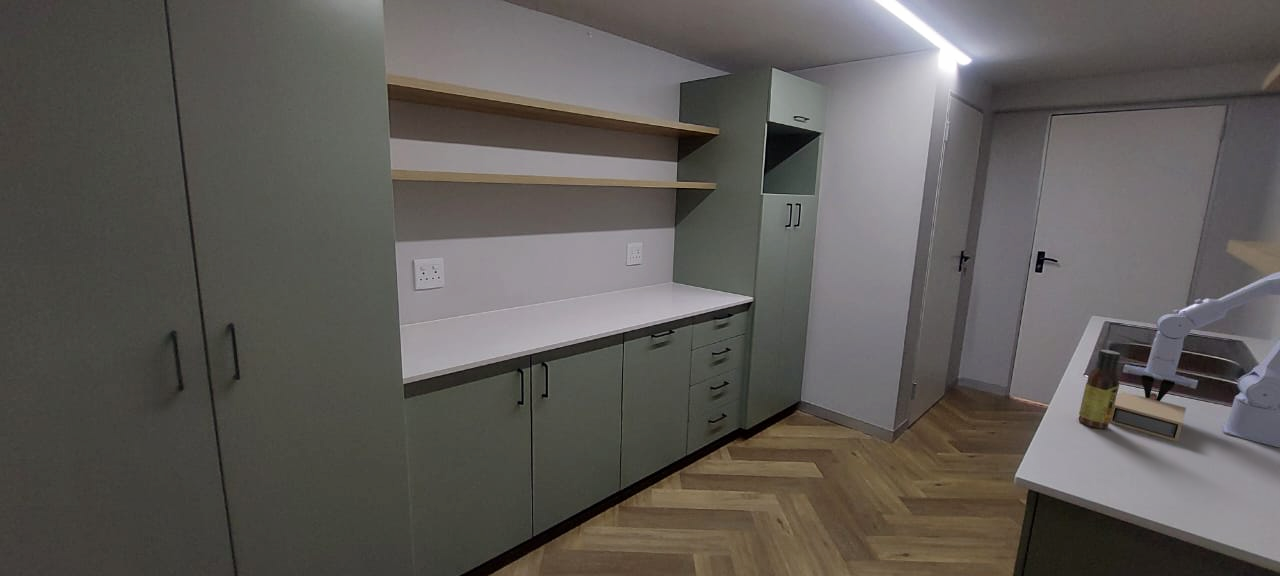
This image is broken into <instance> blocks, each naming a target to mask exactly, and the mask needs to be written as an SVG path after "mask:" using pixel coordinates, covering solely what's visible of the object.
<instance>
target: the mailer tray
mask: <svg viewBox="0 0 1280 576" xmlns="http://www.w3.org/2000/svg"><path fill="white" fill-rule="evenodd" d="M1157 396H1158V393H1156V392H1151V395H1150V399H1154V400H1156V398H1157ZM1114 420H1115V421H1119V422H1122V423H1126V424H1129V425H1133V426H1136V427H1140V428H1143V429H1147V430H1150V431H1154V432H1158V433H1161V434H1165V435H1168V436H1172V437H1173V435H1174V431H1175V428H1176V424H1175V423H1171V422H1167V421H1164V420H1160V419H1156V418H1153V417H1149V416H1145V415H1141V414H1138V413H1134V412H1130V411H1127V410H1123V409H1119V408H1117V410H1116V414H1115V419H1114Z"/></svg>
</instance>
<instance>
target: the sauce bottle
mask: <svg viewBox="0 0 1280 576" xmlns="http://www.w3.org/2000/svg"><path fill="white" fill-rule="evenodd" d="M1120 359H1121V353H1120V352H1118V351H1114V350H1109V349H1100V350H1099V352H1098V361H1097V363H1096V367H1095V368H1094V369H1093V370H1091V371H1090V372H1089V374H1088V376H1087V381H1086V383H1085V387H1084V392H1083V396H1082V400H1081V405H1080V408H1079V413H1078V421H1079V422H1080V423H1081V424H1082V425H1085V426H1087V427H1090V428H1095V429H1108V428H1109V425H1110V420H1111V416H1112V412H1113V408H1114V405H1115V400H1116V398H1117V397H1118V391H1119V388H1120V387H1119V386H1120V381H1119V377H1118V373H1117V367H1118V363H1119V360H1120Z"/></svg>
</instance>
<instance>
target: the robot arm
mask: <svg viewBox="0 0 1280 576" xmlns="http://www.w3.org/2000/svg"><path fill="white" fill-rule="evenodd" d="M1269 295H1270V296H1271V295H1275V296H1276V295H1277V296H1279V295H1280V271H1277V272H1273V273H1271V274H1270V275H1266V276H1265V277H1263V278H1260V279H1258V280H1256V281H1255V282H1252V283H1250V284H1248V285H1246V286H1243V287H1242V288H1239V289H1238V290H1235V291H1232V292H1230V293H1228V294H1226V295H1224V296H1222V297H1220V298H1217V299H1214V298H1208V297H1207V298H1205V299H1201V298H1198V299H1196V300H1194V303H1193V304H1191V305H1188V306H1186V307H1184V308H1181V309H1173V313H1167V314H1164V315H1162V316H1160V317H1159V318H1158V319H1157V321H1156V322H1155V326H1156V328H1157V331H1156V333H1155V338H1154V339H1153V342H1152V346H1151V349H1150V353H1149V356H1148V360H1147V365H1146V367H1142V366H1136V365H1129V364H1125V365H1123V369H1122V373H1125V374H1132V375H1137V376H1141V378H1140V379H1141V384H1142V387H1143V391H1144V397H1146V398H1150V395H1151V393H1152V389H1153V385H1154V383H1155V380H1158V381H1161V382H1160V387H1159V389H1158V392H1157V398H1156V400H1158V401H1162V399H1163V398H1164V397H1165V396H1166V395H1167V394H1168V393H1169V391H1171V390H1172V389H1173V388H1174V386H1175V384H1176V385H1179V386H1184V387H1188V388H1190V389H1195V390H1196V389H1197V386H1198V383H1199V382H1198V381H1199V380H1197V379H1193V378H1189V377H1185V376H1181V375H1178V374H1176V373H1177V369H1178V365H1179V361H1180V358H1181V354H1182V351H1183V347H1184V340H1185V338H1186V337H1187V336H1188V335H1190V333H1191V332H1192V330H1197V329H1199V328H1201V327H1204V326H1206V325H1209V324H1211V323H1214V322H1216V321H1218V320H1222V319H1224V318H1225V317H1226V315H1227V312H1228V311H1229V310H1232V309H1234V308H1238V307H1240V306H1242V305H1245V304H1247V303H1251V302H1253V301H1256V300H1258V299H1261V298H1263V297H1266V296H1269ZM1236 386H1237V388H1238V390H1239V393H1238V394H1237V395H1235V396H1234V399H1233V402H1232V407H1231V409H1230V413H1229V415H1228V418H1227V422H1226V423H1222V433H1224V434H1226V435H1230V436H1234V437H1238V438H1241V439H1245V440H1248V441H1249V440H1250V441H1253V442H1256V443H1260V444H1264V445H1267V446H1272V447H1276V448H1280V408H1279V405H1280V339H1279V340H1278V341H1277V342H1276V343H1275V345H1273V348H1272V349H1271V350H1270V352H1269V353H1268V354H1267V355H1266V357H1265V358H1263V361H1262V362H1261V363H1260V364H1258V365H1256V366H1254V367H1253V369H1252V370H1251V371H1250V372H1248V373H1247V374H1244V375H1242V376H1240V377H1239V378H1238V380H1237V385H1236Z"/></svg>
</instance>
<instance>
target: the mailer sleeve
mask: <svg viewBox="0 0 1280 576" xmlns="http://www.w3.org/2000/svg"><path fill="white" fill-rule="evenodd" d="M1117 408H1119V409H1123V410H1127V411H1130V412H1134V413H1138V414H1141V415H1145V416H1149V417H1153V418H1156V419H1160V420H1164V421H1167V422H1171V423H1175V424H1176V428H1175V431H1174V435H1173V437H1172V436H1168V435H1165V434H1161V433H1158V432H1154V431H1150V430H1147V429H1143V428H1140V427H1136V426H1133V425H1129V424H1126V423H1122V422H1119V421H1115V420H1114V419H1115V414H1116V410H1117ZM1186 410H1187V407H1186V406H1181V405H1177V404H1173V403H1170V402H1169V403H1168V402H1165V401H1162V400H1160V401H1158V400H1154V399H1150V398H1146V397H1145V396H1143V395H1142V396H1141V395H1137V394H1133V393H1131V392H1130V393H1129V392H1124V391H1120V392H1119V393H1118V394H1117V396H1116V400H1115V405H1114V408H1113V412H1112V416H1111V420H1110V423H1111V424H1113V425H1118V426H1121V427H1125V428H1128V429H1132V430H1135V431H1138V432H1142V433H1145V434H1148V435H1149V434H1150V435H1153V436H1156V437H1158V438H1159V437H1160V438H1163V439H1167V440H1169V441H1173V442H1176V443H1178V442H1179V441H1178V440H1179V438H1180V435H1181V430H1182V428H1183V424H1184V421H1185V420H1184V418H1185V415H1186ZM1110 423H1109V424H1110Z"/></svg>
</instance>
